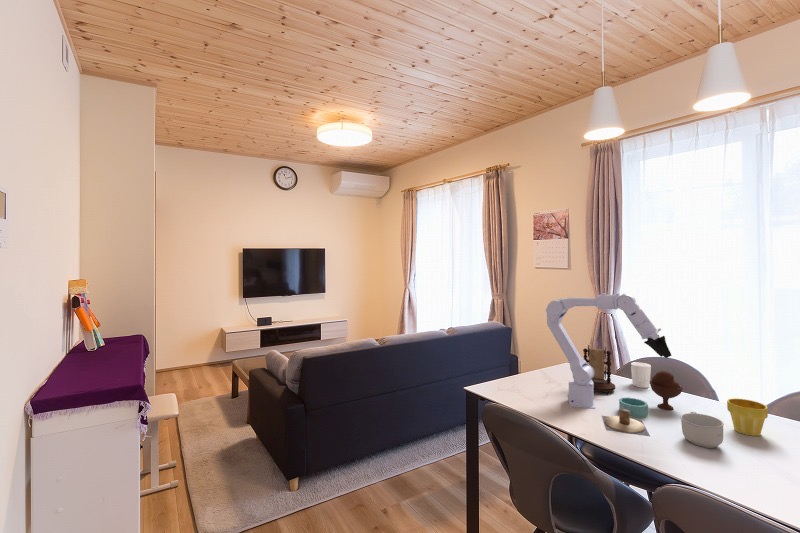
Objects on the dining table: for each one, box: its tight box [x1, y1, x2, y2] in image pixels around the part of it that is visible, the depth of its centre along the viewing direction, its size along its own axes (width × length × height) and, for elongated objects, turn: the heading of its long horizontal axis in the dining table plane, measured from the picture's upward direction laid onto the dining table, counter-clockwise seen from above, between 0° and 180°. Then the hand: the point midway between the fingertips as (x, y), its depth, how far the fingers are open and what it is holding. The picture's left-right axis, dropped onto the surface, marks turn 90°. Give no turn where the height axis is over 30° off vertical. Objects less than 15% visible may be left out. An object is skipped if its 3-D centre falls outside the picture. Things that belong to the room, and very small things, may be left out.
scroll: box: [582, 344, 616, 395], centre depth 175 cm, size 15×15×20 cm
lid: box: [605, 408, 646, 434], centre depth 136 cm, size 12×12×5 cm
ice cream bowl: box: [649, 370, 684, 412], centre depth 152 cm, size 11×11×15 cm
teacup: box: [680, 411, 725, 449], centre depth 124 cm, size 14×11×8 cm
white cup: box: [630, 361, 652, 389], centre depth 179 cm, size 8×8×10 cm
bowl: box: [618, 396, 649, 419], centre depth 147 cm, size 9×9×4 cm
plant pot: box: [726, 398, 769, 437], centre depth 131 cm, size 10×10×10 cm
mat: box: [601, 415, 651, 437], centre depth 136 cm, size 13×13×1 cm
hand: (666, 356), depth 138 cm, fingers open, 7 cm apart
